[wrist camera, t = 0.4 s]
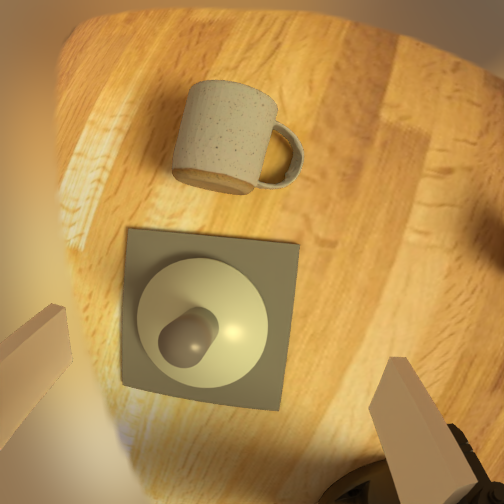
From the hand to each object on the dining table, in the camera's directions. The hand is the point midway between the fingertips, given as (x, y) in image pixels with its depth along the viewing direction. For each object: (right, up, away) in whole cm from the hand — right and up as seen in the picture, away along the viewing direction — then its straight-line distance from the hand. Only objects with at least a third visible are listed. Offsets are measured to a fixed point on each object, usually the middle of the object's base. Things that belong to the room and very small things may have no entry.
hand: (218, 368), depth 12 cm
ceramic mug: (0, +14, +18) cm, 22 cm away
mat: (-3, -2, +18) cm, 18 cm away
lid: (-3, -2, +17) cm, 18 cm away
